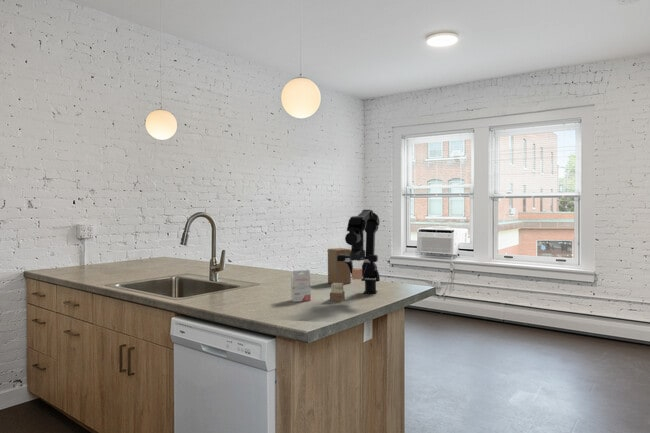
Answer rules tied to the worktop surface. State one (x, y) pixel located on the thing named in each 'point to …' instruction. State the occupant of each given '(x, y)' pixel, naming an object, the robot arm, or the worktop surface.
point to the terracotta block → (357, 273)
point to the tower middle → (337, 288)
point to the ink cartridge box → (300, 286)
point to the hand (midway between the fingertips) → (357, 276)
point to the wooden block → (338, 267)
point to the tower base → (337, 296)
